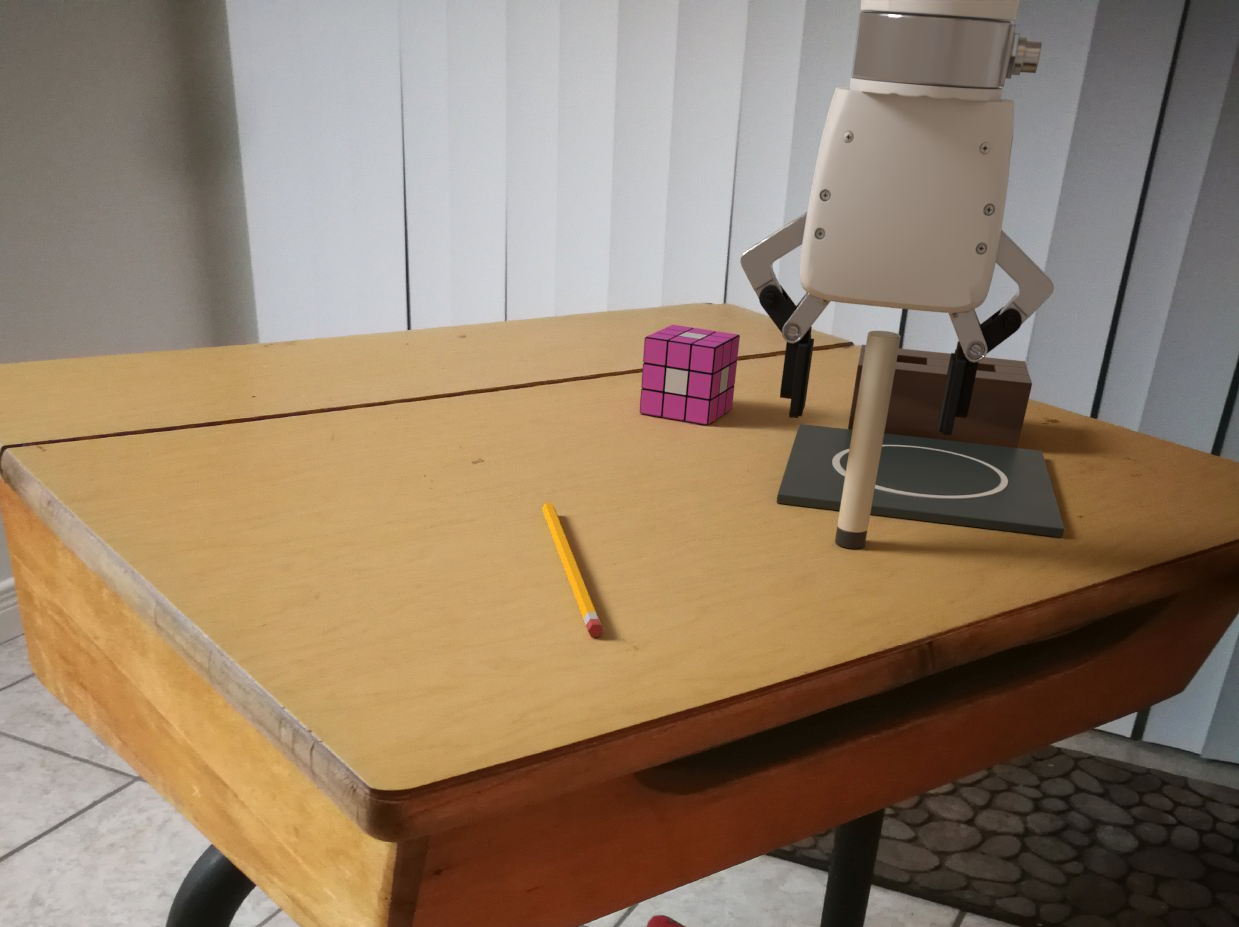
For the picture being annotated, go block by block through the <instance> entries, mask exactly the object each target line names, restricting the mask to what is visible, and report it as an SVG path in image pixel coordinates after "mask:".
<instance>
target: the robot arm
mask: <svg viewBox="0 0 1239 927" xmlns="http://www.w3.org/2000/svg"><path fill="white" fill-rule="evenodd" d="M1019 6H1020V0H860V9H859V10H860V11H861V12H860V13H859V16H858V21H857V22H858V23H857V30H856V37H855V44H854V45H855V46H854V50H853V51H854V52H853V58H852V67H851V73H850V76H851V77H850V80H849V86H836V87H835V89H834V93H833V95H832V99H831V102H830V105H829V108H828V112H827V114H826V119H825V122H824V126H823V129H822V130H823V131H822V134H821V138H820V143H819V148H818V151H817V152H818V153H817V157H816V163H815V167H814V172H813V177H812V183H811V188H810V194H809V200H808V206H807V210H806V211H805V212H804V213H802V214H801V215H799V216H798V217H796V218H794V219H793V220H792V221H790V222H788V223H787V224H784V225H783V226H781V227H780V228H778V229H777V230H775V231H774V232H773V233H771V234H769V235H768V236H766V237H764V238H762V239H761V240H760V241H758V242H757V243H754V244H753V245H751V246H750V247H749V248H747V249H746V250H745V251H744V252H743V254H742V255H741V257H740V262H739V263H740V266H741V268H742V270H743V272H744V274H745V276H746V277H747V279H748V282H749V284H750V286H751V287H752V289H753V291H754V293H755V295H756V296H757V298H758V301H759V304H760V306H761V308H762V309H763V310H764V311H765V313H766V314H767V315H768V317H769V318H770V319H771V321H772V322H773V323H774V325H775V326H776V328H777V329H778V330H779V331H780V333H781V336H782V338H783V340H784V341H785V342H786V344H785V352H784V359H783V368H782V374H781V375H782V376H781V382H780V383H781V384H780V392H779V398H780V399H789V400H790V404H789V413H788V418H789V419H790V418H791V419H799V417H800V418H801V417H802V416H803V414H804V411H805V407H806V402H807V397H808V396H807V395H808V389H809V382H810V381H809V380H810V374H811V367H812V359H813V352H814V344H815V338H812V330H813V327H812V326H813V325H814V324H815V323H816V321H817V319H819V317H820V316H821V314H822V313H823V312H824V310H825V309H826V308H827V307H828V305H829V304H830V303H831V302H834V303H842V304H851V305H852V304H853V305H861V306H869V307H870V306H871V307H880V308H891V309H900V310H910V311H911V310H912V311H921V312H929V313H930V312H931V313H946V314H948V316H949V318H950V321H951V324H952V327H953V329H954V331H955V334H956V336H957V339H958V341H957V343H956V348H955V350H954V352H951V353H950V354H951V356H950V361H949V367H948V372H947V377H946V382H945V387H944V392H943V397H942V403H941V408H940V413H939V418H938V428H939V432H942V435H949V436H951V435H952V430H953V425H954V420H955V417H960V418H967V415H968V411H969V406H970V401H971V396H972V391H973V386H974V382H975V377H976V372H977V367H978V362H979V361H981V360H982V359H984V357H986V356H987V355H988V354H989V353H990V352H992V351H993V350H994V349H995V348H997V347H998V346H999V345H1001V344H1002V343H1003V342H1004V341H1006V340H1007V339H1008V338H1010V337H1011V336H1012V335H1015V333H1016V332H1018V331H1019V330H1020V328H1021V327H1022V326H1023V324H1024V323H1025V322H1026V321H1027V320H1028V319H1029V318H1030V317H1031V316H1032V315H1033V314H1034V313H1035V312H1036V311H1037V310H1038V309H1039V308H1040V307H1041V306H1042V305H1043V304H1044V303H1045V302H1046V301H1047V300H1048V299H1049V298H1050V297H1051V295H1052V294H1053V293H1054V283H1053V281H1052V279H1051V277H1049V275H1048V274H1047V273H1046V272H1045V271H1043V269H1042V268H1040V266H1039V265H1038V264H1037V263H1036V262H1035V261H1034V260H1033V259H1032V258H1030V256H1028V254H1026V253H1025V251H1023V249H1022V248H1021V247H1019V245H1018V244H1017V243H1016V242H1015V241H1014V240H1013V239H1012V238H1011V237H1010V236H1009V235H1008V234H1007V233H1006V232H1005V231H1004V230H1003V229H1002V228H1003V223H1004V216H1005V208H1006V202H1007V195H1008V187H1009V177H1010V165H1011V155H1012V148H1013V141H1014V140H1013V139H1014V127H1015V126H1014V124H1015V106H1014V105H1015V100H1012V99H1006V98H1002V93H1003V88H1004V87H1005V83H1006V80H1007V79H1009V80H1011V79H1012V77H1013V76H1020V75H1021V73H1026V74H1036V73H1037V69H1038V66H1039V63H1040V62H1039V61H1040V58H1041V57H1040V56H1041V52H1042V44H1043V42H1042V41H1030V40H1028V37H1022V36H1021V35H1020V34H1021V32H1016V26H1017V25H1016V24H1013V23H1012V22H1015V21H1016V20H1017V15H1018V11H1019ZM1011 21H1012V22H1011ZM800 246H801V250H800V259H799V260H800V261H799V282H800V285H801V288H802V289H803V290H804V292H805V293H804V295H803V296H802V297H801V299H800V300H799V302H798V303H797V304H796V303H795V302H794V300H793V299H792V298H791V296H790V295H789V294H788V293H787V291H786V290H785V289H784V288H783V286H782V285H781V284H780V282H779V280H778V278H777V277H776V276H777V275H776V273H775V271H774V268H773V267H774V266H773V265H774V263H775V262H776V261H777V260H779V259H781V258H782V257H784V256H785V255H787V254H789V253H790V252H793V250H795V249H797V248H798V247H800ZM996 264H997V265H998V266H999V268H1001V269H1002V270H1003V271H1004V273H1006V274H1007V275H1008V277H1010V278H1011V279H1012V280H1013V281H1014V282H1015V283H1016V284H1017V286H1018V288H1017V290H1016V293H1015V294H1014V295H1013V297H1012V298H1011V299H1010V300H1009V301H1008V302H1007V303H1006V304H1005V305H1004V306H1002V307H1001V308H1000V309H998V310H997V311H996V312H995V313H993V314H992V315H990V316H989V317H988V318H987V319H986V320H984V321H983V322H982V323H981V322H980V319H979V317H978V314H977V311H976V309H977V308H979V307H980V306H982V305H983V304H984V303H985V301H986V299H987V297H988V294H989V291H990V288H991V285H992V281H993V277H994V273H995V269H996Z"/></svg>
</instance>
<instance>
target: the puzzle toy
mask: <svg viewBox="0 0 1239 927" xmlns="http://www.w3.org/2000/svg"><path fill="white" fill-rule="evenodd" d="M740 338H741V335H740V334H738V333H731V332H726V331H725V332H724V331H719V330H718V331H716V330H713V329H712V330H711V329H705V328H699V327H691V326H685V325H679V324H670V325H669V326H667V327H665V328H662V329H659V330H657V331H656V332H653V333H651V334H648V335H647V336H645V337H644V344H643V357H642V359H643V360H642V362H643V363H642V370H641V385H640V387H641V389H640V400H639V414H641V415H645V416H651V417H657V418H663V419H669V420H673V421H674V420H675V421H679V422H686V423H690V424H696V425H702V426H708V425H710V424H712V423H713V422H715V421H717V420H718V419H719V418H721V417H723V416H724V415H726V414H727V413H729V412H730V411H731V410H733V404H734V395H735V384H736V376H737V368H738V367H737V366H738V359H739V358H738V357H739V348H740Z"/></svg>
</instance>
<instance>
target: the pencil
mask: <svg viewBox="0 0 1239 927" xmlns="http://www.w3.org/2000/svg"><path fill="white" fill-rule="evenodd" d="M541 510H542V514H543V516H544V519H545V521H546V524H547V526H548V530H549V532H550V534H551V538H552V539H553V542H554V545H555V548H556V550H557V554H558V556H559V558H560V560H561V563H562V566H563V569H564V572H565V574H566V577H567V579H568V583H569V585H570V588H571V590H572V593H573V595H574V598H575V601H576V603H577V606H578V609H579V612H580V614H581V616H582V619H583V623H584V625H585V628H586V630H587V632H588V634H589V636H590V637H591V638H600V637H601V635H602V633H603V632H604V631H605V630H604V628H603V625H602V623H601V621H600V618H599V616H598V615H599V614H598V612H597V610H596V608H595V605H594V603H593V600H592V598H591V595H590V593H589V590H588V588H587V586H586V582H585V581H584V578H583V575H582V573H581V570H580V567H579V565H578V563H577V561H576V560H577V559H576V558H575V555H574V553H573V551H572V547H571V546H570V543H569V540H568V538H567V536H566V533H565V531H564V528H563V525H562V523H561V520H560V519H559V518H560V517H559V515H558V513H557V510H556V508H555V506H554V504H553V502H545V503H544V504H543V506H542V507H541Z"/></svg>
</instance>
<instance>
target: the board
mask: <svg viewBox="0 0 1239 927" xmlns="http://www.w3.org/2000/svg"><path fill="white" fill-rule="evenodd" d="M851 437H852V430H851V429H848V428H842V427H841V428H840V427H834V426H833V427H832V426H823V425H816V424H815V425H814V424H805V423H799V424H798V427H797V431H796V434H795V438H794V441H793V444H792V447H791V450H790V454H789V456H788V457H789V458H788V460H787V463H786V466H785V468H784V469H785V470H784V473H783V476H782V479H781V483H780V486H779V488H778V492H777V497H776V504H780V505H788V506H789V505H790V506H798V507H805V508H813V509H814V508H815V509H821V510H822V509H823V510H831V511H839V512H840V506H841V500H842V493H843V487H844V481H845V474H846V468H847V462H848V455H849V449H850V443H851ZM871 515H873V516H879V517H887V518H888V517H889V518H896V519H905V520H911V521H912V520H914V521H920V522H929V523H939V524H946V525H955V526H963V527H972V528H980V529H987V530H994V531H995V530H996V531H1003V532H1011V533H1012V532H1013V533H1021V534H1029V535H1037V536H1044V537H1053V538H1063V537H1064V533H1065V525H1064V522H1063V519H1062V515H1061V512H1060V508H1059V506H1058V502H1057V498H1056V495H1055V491H1054V488H1053V483H1052V481H1051V478H1050V473H1049V470H1048V467H1047V464H1046V460H1045V456H1044V453H1043V451H1042V450H1036V449H1030V448H1019V447H1018V448H1012V447H1003V446H994V445H985V444H976V443H967V442H958V441H949V440H940V439H931V438H922V437H913V436H905V435H896V434H887V433H884V437H883V443H882V449H881V455H880V460H879V466H878V472H877V478H876V484H875V489H874V495H873V501H872V507H871V513H870V516H871Z"/></svg>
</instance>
